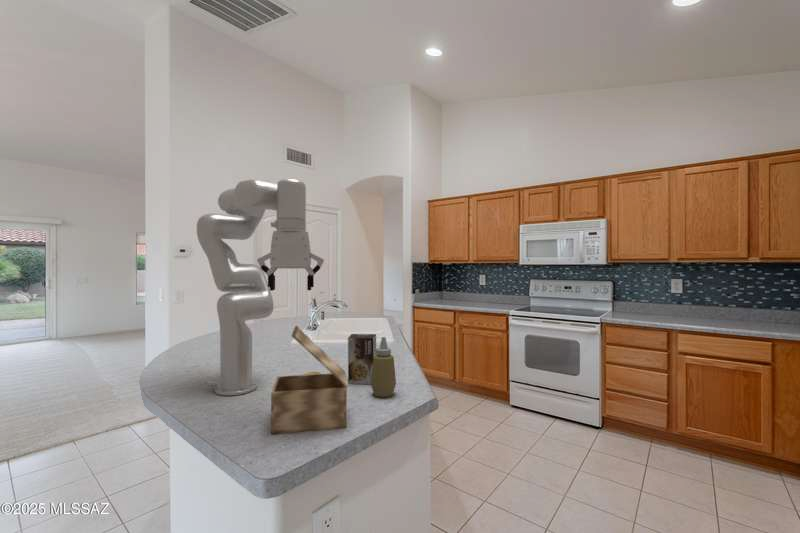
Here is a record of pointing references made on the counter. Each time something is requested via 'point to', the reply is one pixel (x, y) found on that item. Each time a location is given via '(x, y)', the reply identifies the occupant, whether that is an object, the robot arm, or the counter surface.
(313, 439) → the counter surface
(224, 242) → the robot arm
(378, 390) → the squeeze bottle
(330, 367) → the carton flap
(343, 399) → the carton
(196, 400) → the counter surface
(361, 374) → the grey upright box
